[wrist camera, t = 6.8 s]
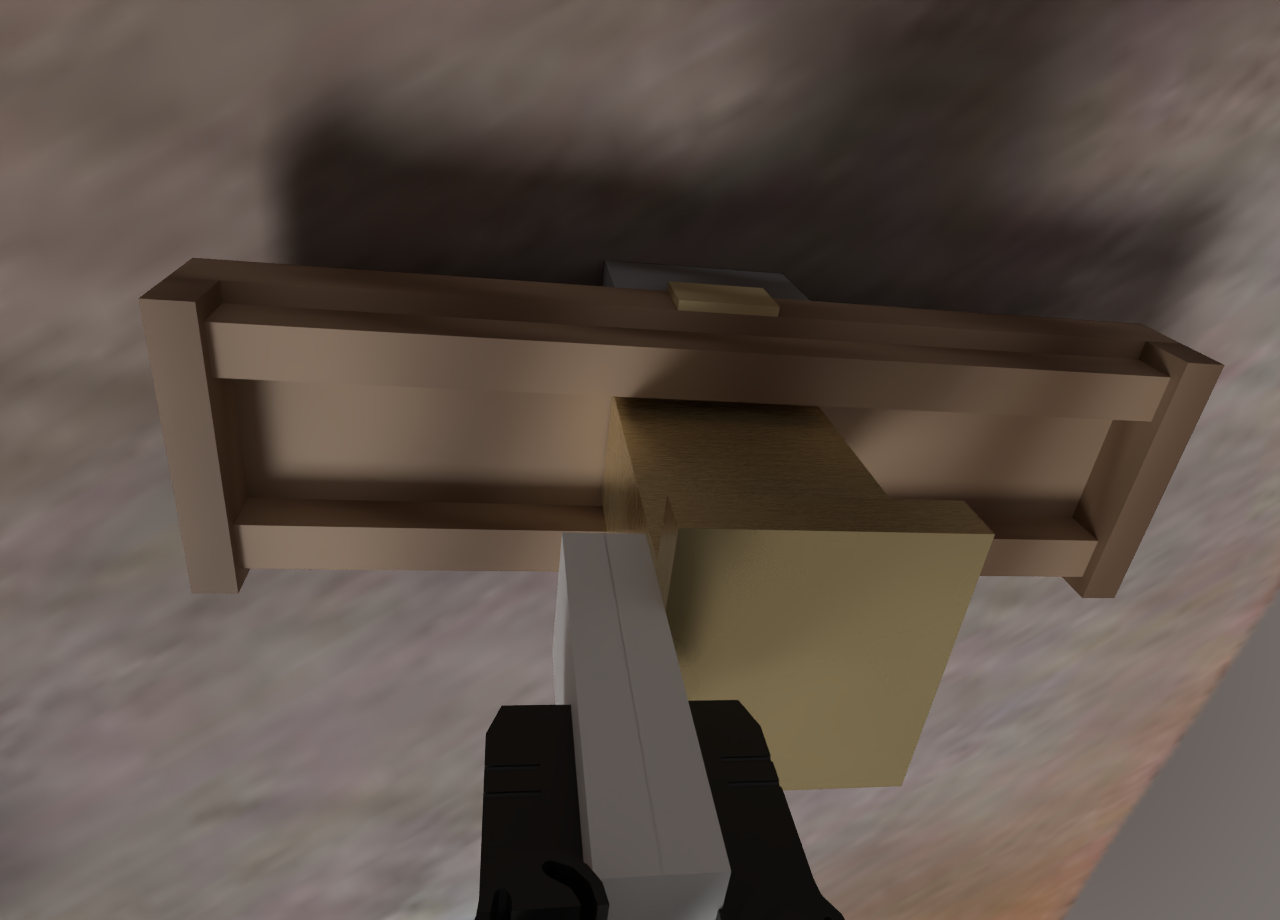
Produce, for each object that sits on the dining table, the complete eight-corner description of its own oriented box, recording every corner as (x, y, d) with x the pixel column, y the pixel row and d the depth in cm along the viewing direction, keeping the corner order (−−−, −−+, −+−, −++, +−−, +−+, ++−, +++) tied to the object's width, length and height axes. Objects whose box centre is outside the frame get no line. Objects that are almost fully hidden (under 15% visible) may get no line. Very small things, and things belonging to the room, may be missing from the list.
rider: (597, 540, 21) (636, 796, 14) (617, 337, 19) (678, 528, 12) (779, 543, 22) (901, 785, 15) (824, 349, 20) (994, 534, 13)
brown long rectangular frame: (258, 483, 24) (193, 601, 19) (225, 222, 20) (136, 286, 15) (1008, 503, 28) (1111, 604, 23) (1088, 288, 24) (1229, 355, 20)
